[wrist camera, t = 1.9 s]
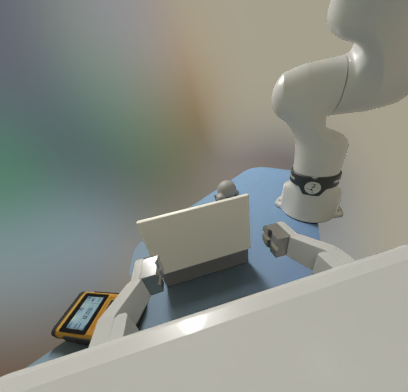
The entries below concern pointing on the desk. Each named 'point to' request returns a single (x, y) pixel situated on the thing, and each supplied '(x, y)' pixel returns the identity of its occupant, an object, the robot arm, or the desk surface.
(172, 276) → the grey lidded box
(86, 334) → the electronic device
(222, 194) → the grey toy animal
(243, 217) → the cover
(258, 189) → the desk surface
